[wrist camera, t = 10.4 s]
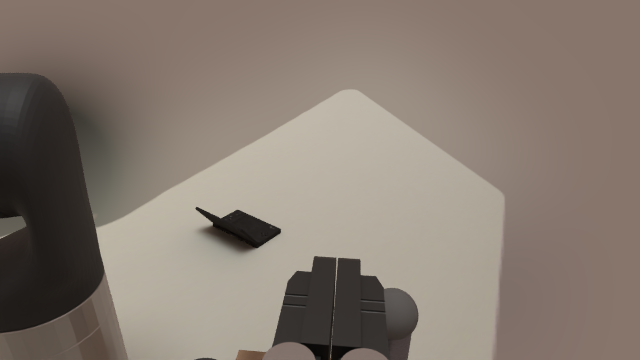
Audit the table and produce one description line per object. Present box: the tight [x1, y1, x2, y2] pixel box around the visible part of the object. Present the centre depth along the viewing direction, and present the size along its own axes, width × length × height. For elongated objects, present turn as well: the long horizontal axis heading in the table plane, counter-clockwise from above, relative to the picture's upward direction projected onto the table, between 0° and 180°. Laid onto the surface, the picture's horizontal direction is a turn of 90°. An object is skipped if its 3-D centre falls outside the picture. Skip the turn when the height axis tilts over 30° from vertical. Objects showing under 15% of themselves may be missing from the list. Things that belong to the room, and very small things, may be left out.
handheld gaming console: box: [196, 207, 281, 248], centre depth 69 cm, size 12×7×10 cm
